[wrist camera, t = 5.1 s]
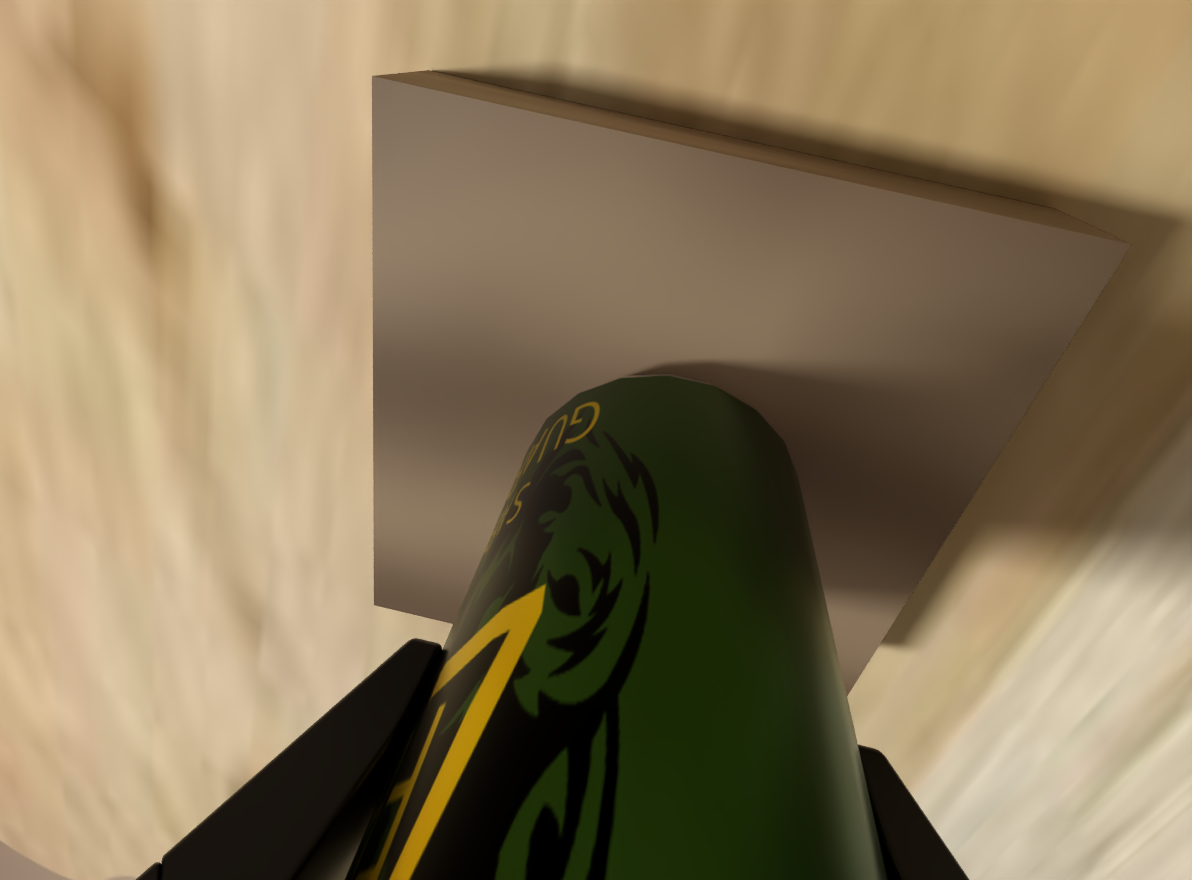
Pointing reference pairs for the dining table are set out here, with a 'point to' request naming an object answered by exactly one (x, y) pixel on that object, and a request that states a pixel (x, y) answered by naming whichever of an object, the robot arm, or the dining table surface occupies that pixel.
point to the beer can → (637, 669)
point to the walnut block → (695, 323)
